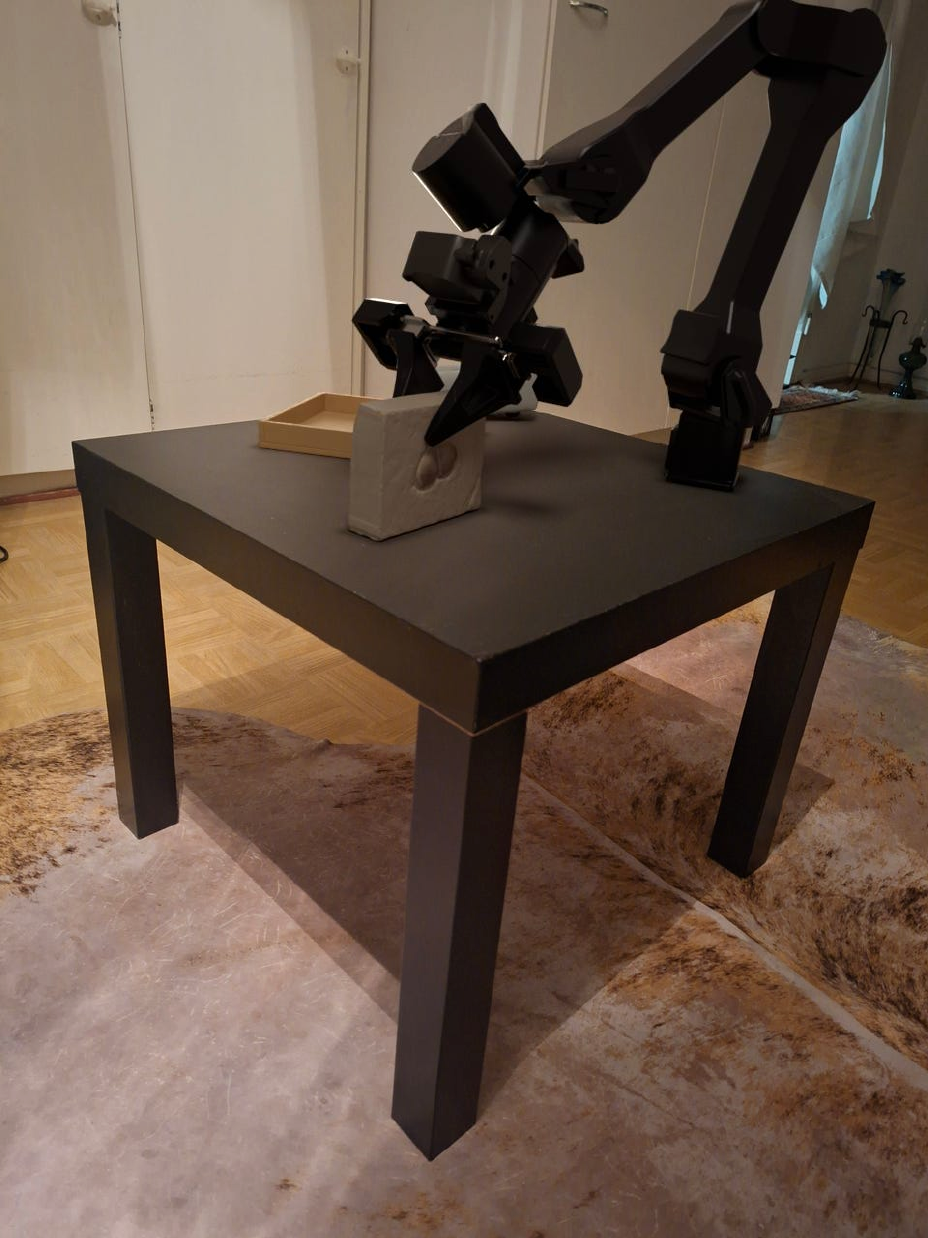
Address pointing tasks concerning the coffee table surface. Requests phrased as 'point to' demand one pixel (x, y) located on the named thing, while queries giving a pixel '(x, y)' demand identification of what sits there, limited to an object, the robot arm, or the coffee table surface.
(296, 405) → the wooden tray
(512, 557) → the coffee table surface
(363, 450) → the fossil
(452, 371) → the toy
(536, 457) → the coffee table surface
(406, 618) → the coffee table surface
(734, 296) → the robot arm
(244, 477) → the coffee table surface
